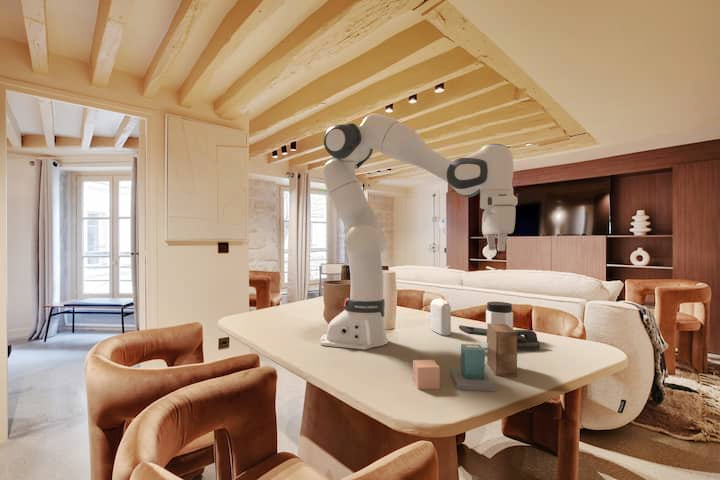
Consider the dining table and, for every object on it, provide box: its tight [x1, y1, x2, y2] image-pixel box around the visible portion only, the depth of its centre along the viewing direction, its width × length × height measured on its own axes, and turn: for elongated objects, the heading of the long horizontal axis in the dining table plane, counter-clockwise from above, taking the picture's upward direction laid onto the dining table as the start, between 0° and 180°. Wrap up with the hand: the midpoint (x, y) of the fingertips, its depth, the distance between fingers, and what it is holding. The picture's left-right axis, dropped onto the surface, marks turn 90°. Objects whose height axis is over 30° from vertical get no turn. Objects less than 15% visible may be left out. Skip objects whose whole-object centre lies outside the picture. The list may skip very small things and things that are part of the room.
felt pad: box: [449, 366, 495, 392], centre depth 86 cm, size 8×12×1 cm, turn 174°
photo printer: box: [430, 298, 452, 337], centre depth 132 cm, size 10×4×12 cm, turn 14°
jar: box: [485, 301, 514, 330], centre depth 126 cm, size 9×8×12 cm
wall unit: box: [486, 324, 518, 377], centre depth 94 cm, size 5×10×11 cm, turn 174°
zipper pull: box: [458, 325, 541, 352], centre depth 114 cm, size 9×7×25 cm
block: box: [412, 359, 441, 390], centre depth 83 cm, size 5×5×5 cm
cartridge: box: [460, 343, 486, 380], centre depth 86 cm, size 4×4×7 cm
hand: (496, 250), depth 101 cm, fingers open, 8 cm apart
